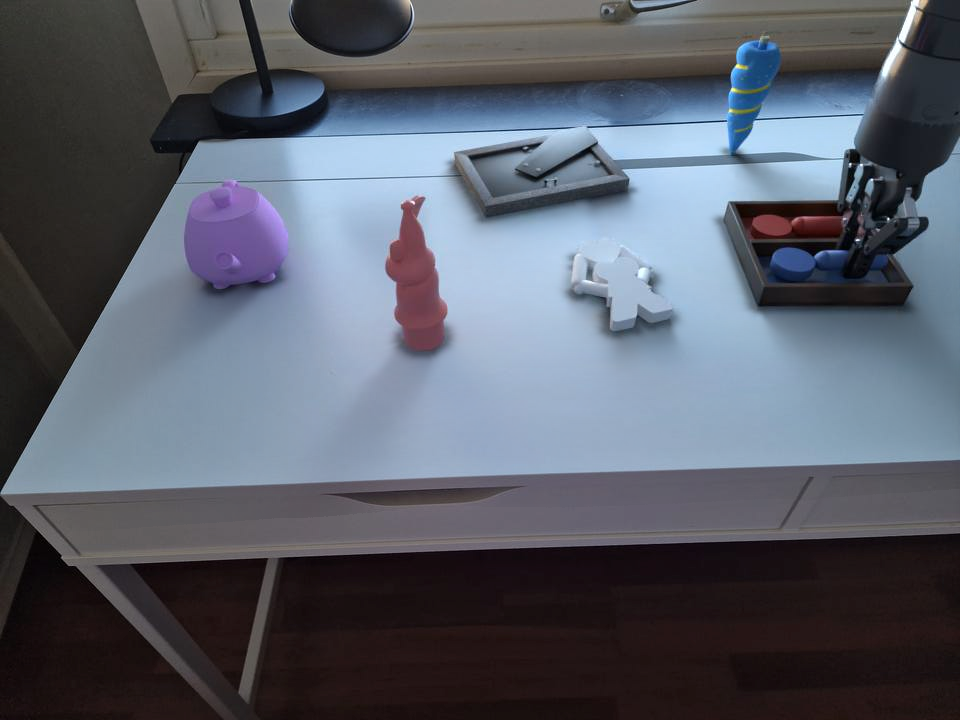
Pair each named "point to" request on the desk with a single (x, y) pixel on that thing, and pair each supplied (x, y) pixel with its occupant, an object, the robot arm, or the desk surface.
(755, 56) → the ornament
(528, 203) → the picture frame
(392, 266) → the figurine
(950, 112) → the robot arm
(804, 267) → the blue spoon
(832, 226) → the red spoon
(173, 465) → the desk surface
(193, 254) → the teapot
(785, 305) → the cutlery tray
